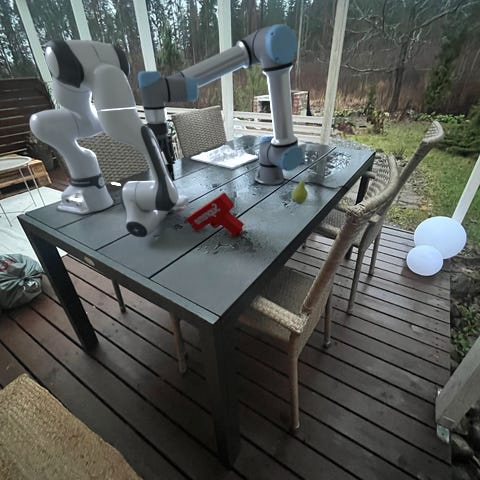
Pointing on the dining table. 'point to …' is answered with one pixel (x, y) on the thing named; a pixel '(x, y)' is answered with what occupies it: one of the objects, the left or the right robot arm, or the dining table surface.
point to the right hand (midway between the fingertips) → (166, 183)
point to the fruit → (300, 192)
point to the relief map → (226, 157)
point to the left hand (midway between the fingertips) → (169, 194)
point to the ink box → (303, 147)
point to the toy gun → (216, 216)
